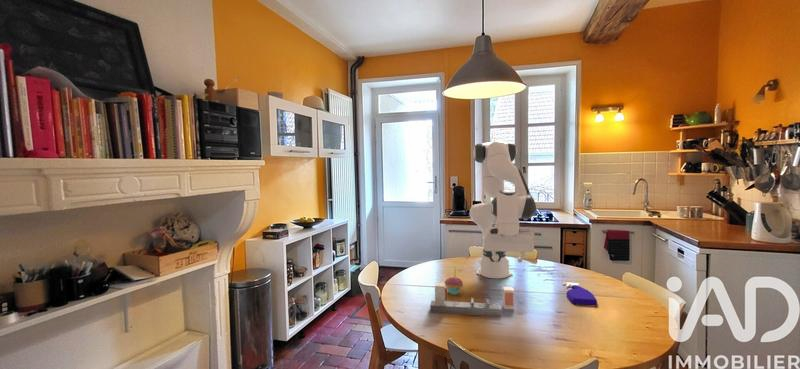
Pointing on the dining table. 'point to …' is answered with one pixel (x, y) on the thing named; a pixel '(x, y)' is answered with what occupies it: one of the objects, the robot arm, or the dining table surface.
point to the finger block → (508, 297)
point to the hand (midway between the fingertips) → (508, 261)
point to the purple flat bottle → (580, 295)
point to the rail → (461, 305)
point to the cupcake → (453, 284)
